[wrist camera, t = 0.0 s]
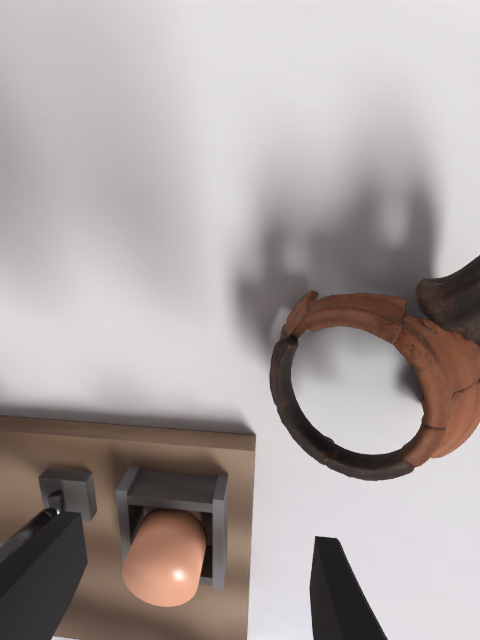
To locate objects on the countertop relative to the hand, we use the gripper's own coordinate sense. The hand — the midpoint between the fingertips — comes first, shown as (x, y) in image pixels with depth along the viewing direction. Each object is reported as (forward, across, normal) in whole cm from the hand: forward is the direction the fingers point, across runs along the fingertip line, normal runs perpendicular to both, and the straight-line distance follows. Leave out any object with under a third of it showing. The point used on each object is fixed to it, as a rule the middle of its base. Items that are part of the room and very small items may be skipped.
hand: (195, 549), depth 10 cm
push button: (+7, +3, +8) cm, 11 cm away
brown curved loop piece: (+10, -8, -4) cm, 14 cm away
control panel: (+10, +10, +12) cm, 19 cm away
